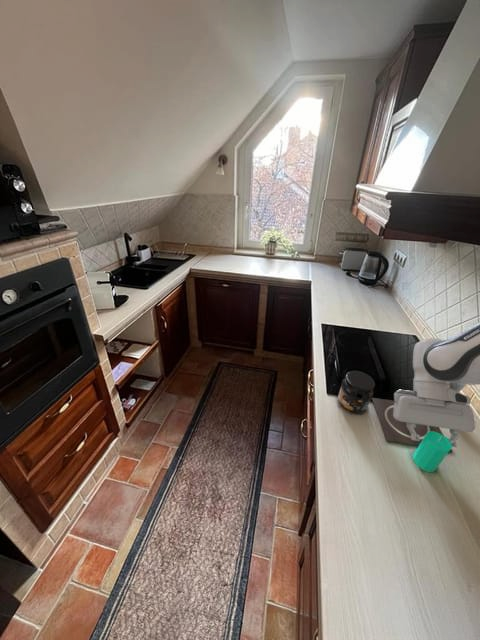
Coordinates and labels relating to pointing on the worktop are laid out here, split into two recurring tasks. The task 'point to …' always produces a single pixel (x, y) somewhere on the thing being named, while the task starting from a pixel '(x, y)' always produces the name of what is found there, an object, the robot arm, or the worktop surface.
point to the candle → (431, 451)
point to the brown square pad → (398, 425)
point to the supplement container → (356, 392)
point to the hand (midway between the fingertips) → (433, 443)
